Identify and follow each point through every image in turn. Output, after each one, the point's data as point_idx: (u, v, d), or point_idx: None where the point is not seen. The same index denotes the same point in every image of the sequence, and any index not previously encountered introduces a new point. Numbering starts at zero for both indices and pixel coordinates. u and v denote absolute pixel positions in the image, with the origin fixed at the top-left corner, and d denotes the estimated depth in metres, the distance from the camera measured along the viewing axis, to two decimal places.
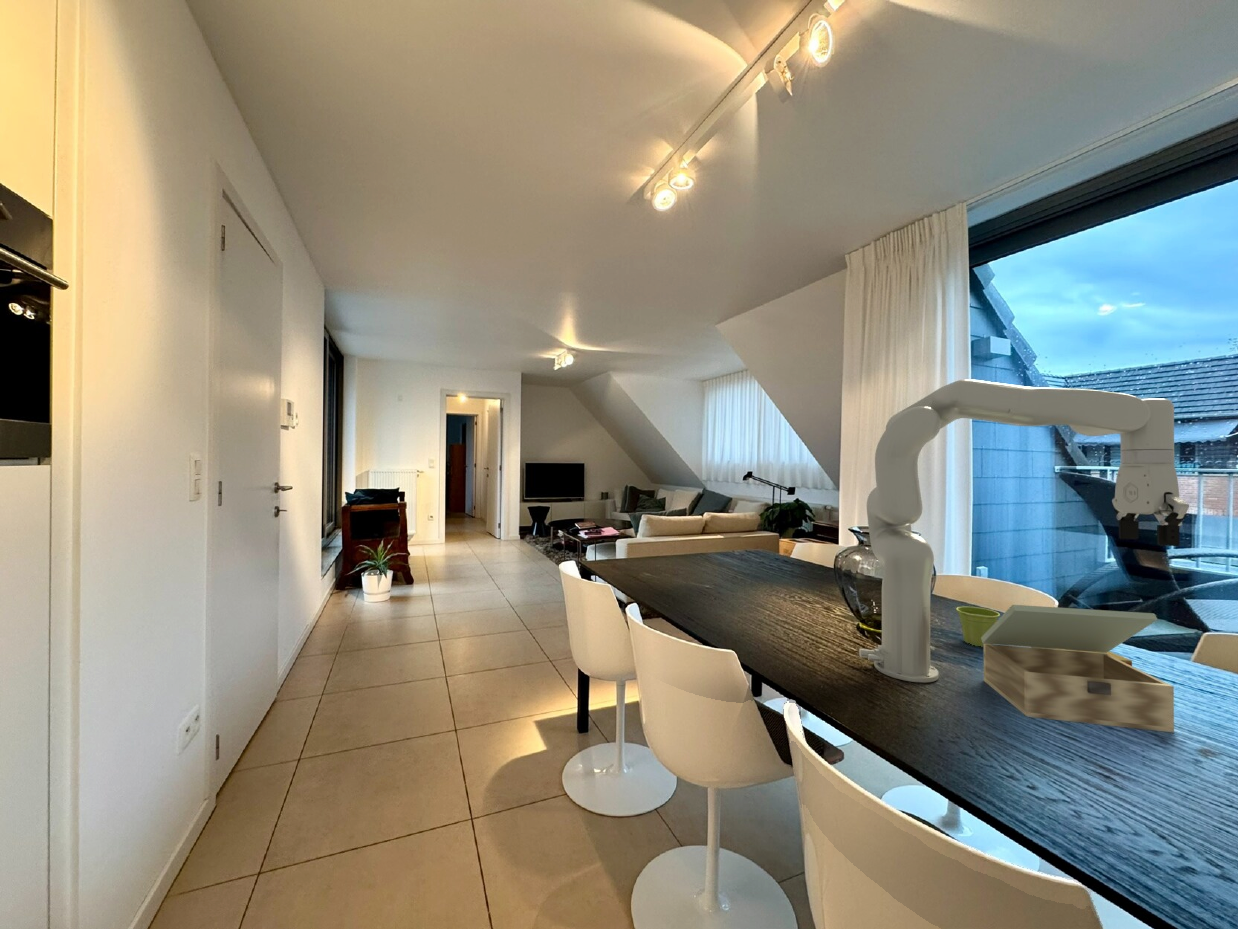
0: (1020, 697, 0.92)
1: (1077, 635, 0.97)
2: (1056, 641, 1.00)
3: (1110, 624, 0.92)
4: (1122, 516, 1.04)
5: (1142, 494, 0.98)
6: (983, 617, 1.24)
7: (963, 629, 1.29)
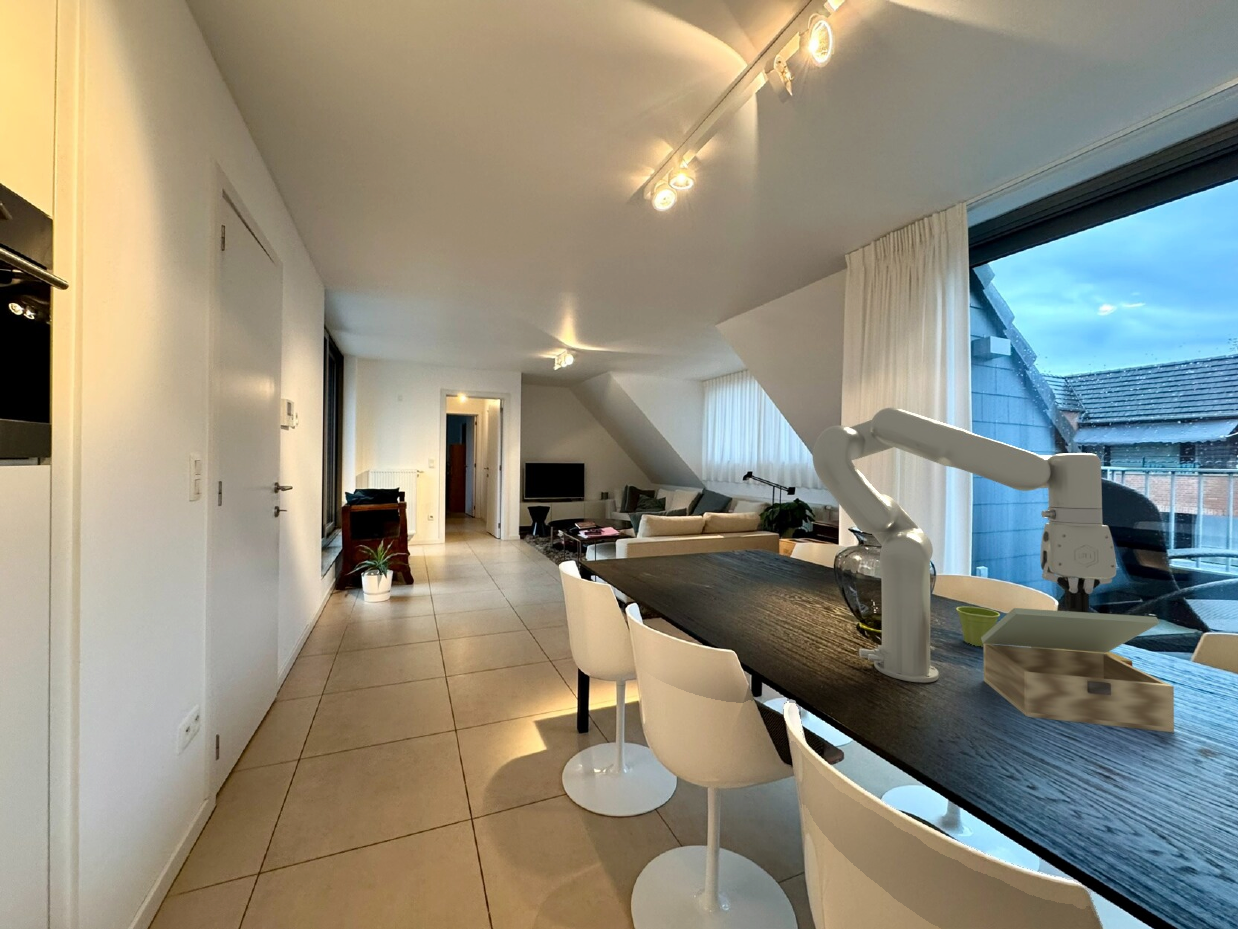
0: (1020, 697, 0.92)
1: (1078, 637, 0.96)
2: (1056, 642, 1.00)
3: (1111, 627, 0.91)
4: (1076, 585, 0.92)
5: (1104, 557, 0.90)
6: (983, 617, 1.24)
7: (963, 629, 1.29)
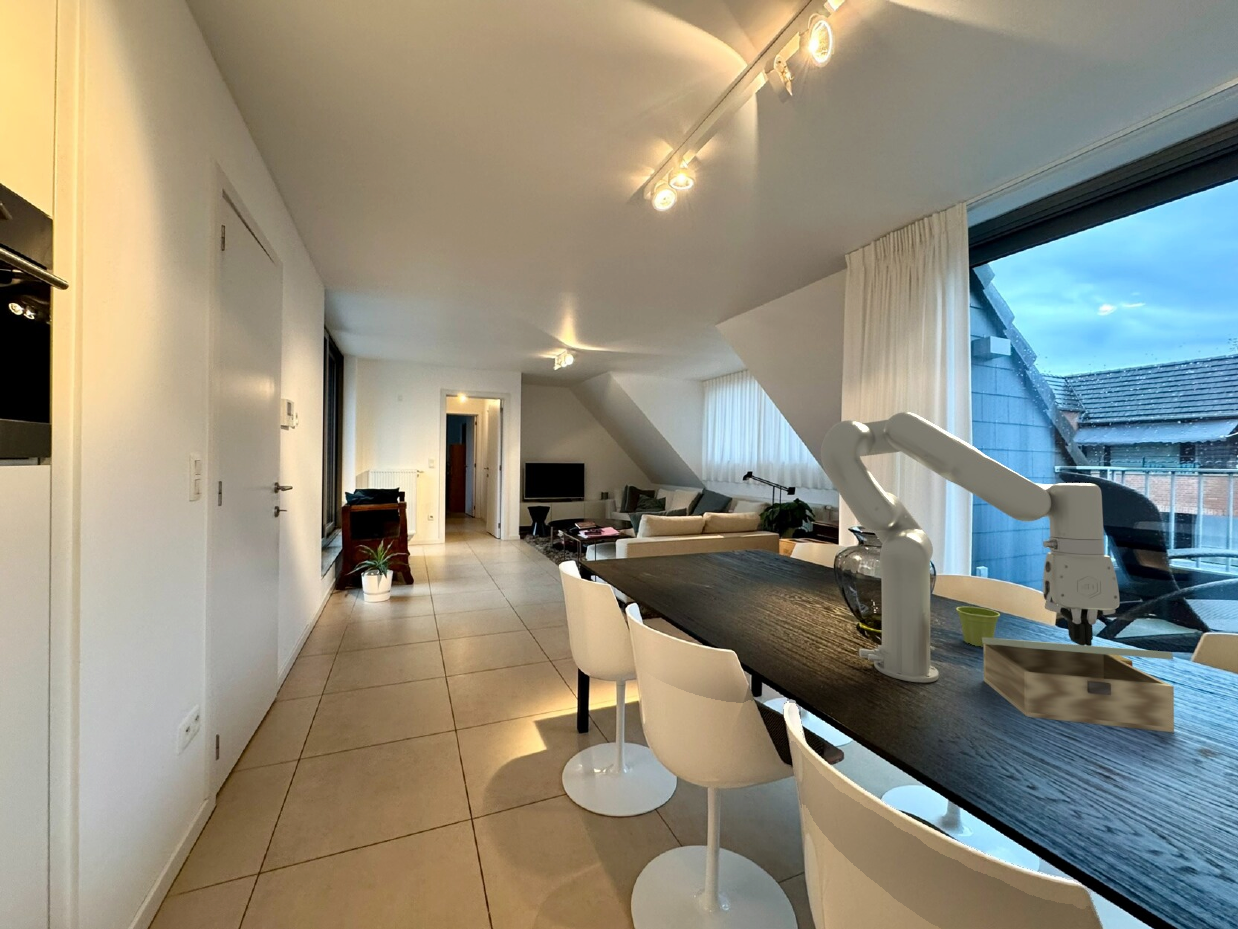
0: (1020, 697, 0.92)
1: None
2: None
3: None
4: (1079, 616, 0.92)
5: (1107, 588, 0.90)
6: (983, 617, 1.24)
7: (963, 629, 1.29)
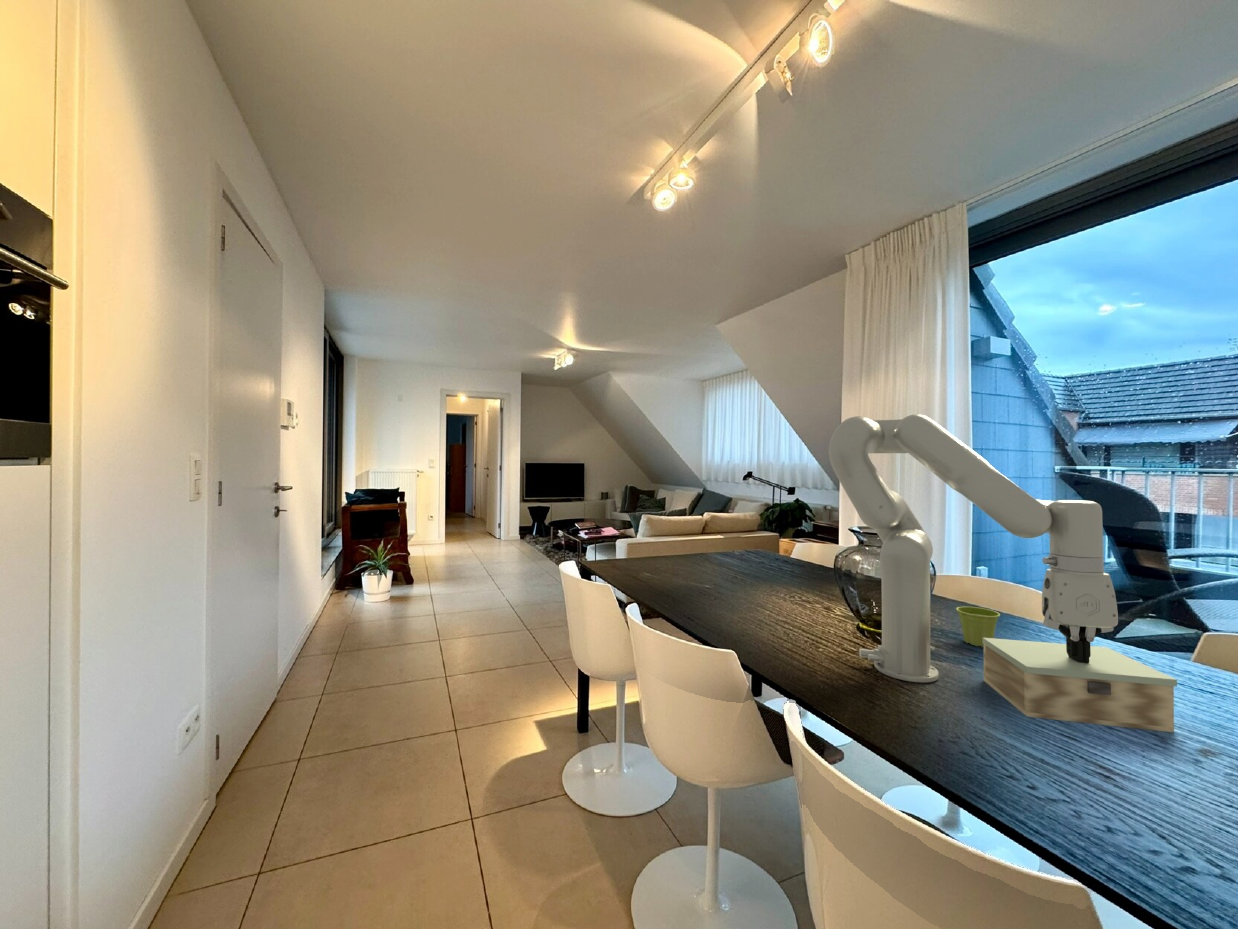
0: (1020, 697, 0.92)
1: None
2: None
3: None
4: (1077, 633, 0.92)
5: (1105, 606, 0.90)
6: (983, 617, 1.24)
7: (963, 629, 1.29)
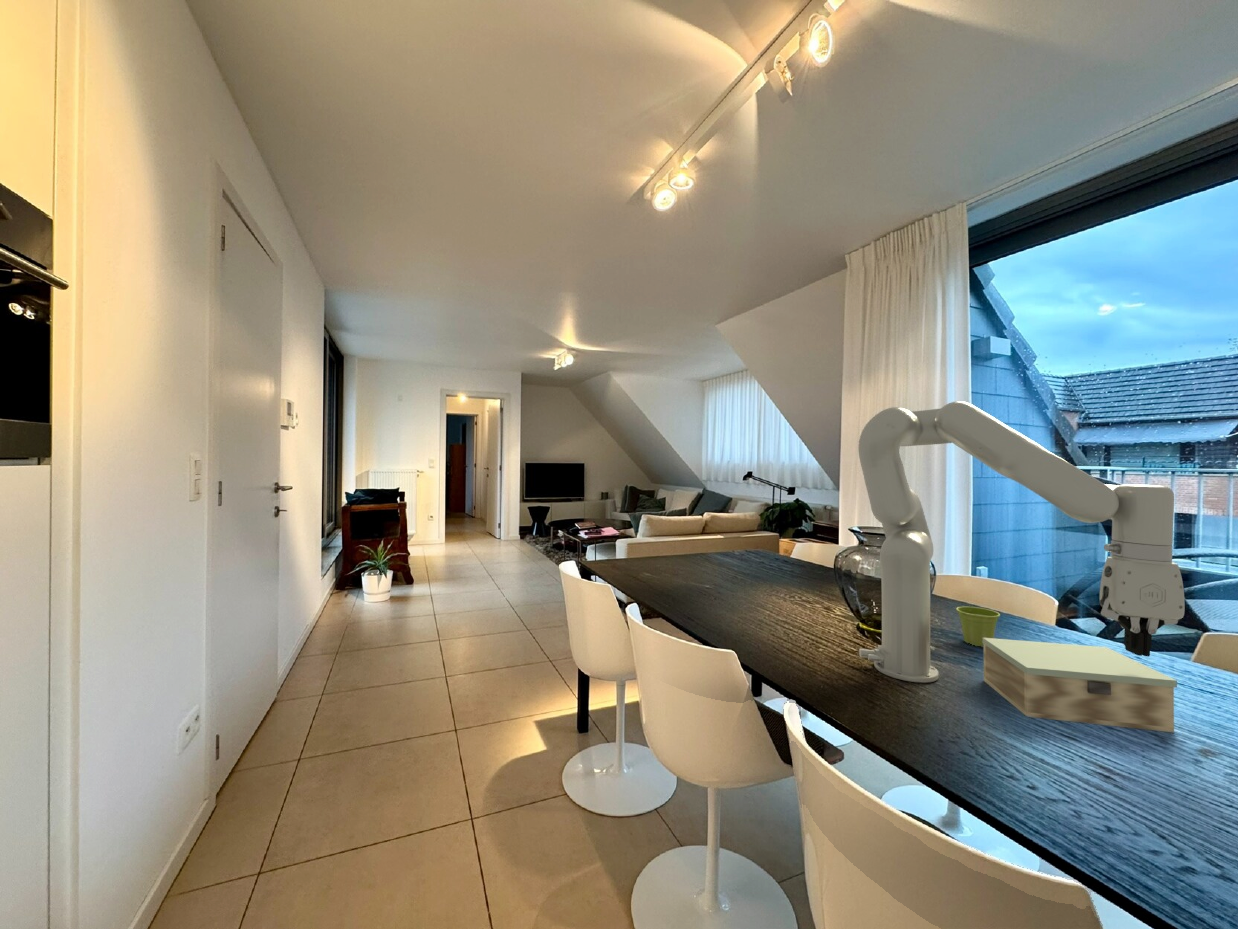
0: (1020, 697, 0.92)
1: None
2: None
3: None
4: (1138, 624, 0.87)
5: (1172, 597, 0.84)
6: (983, 617, 1.24)
7: (963, 629, 1.29)
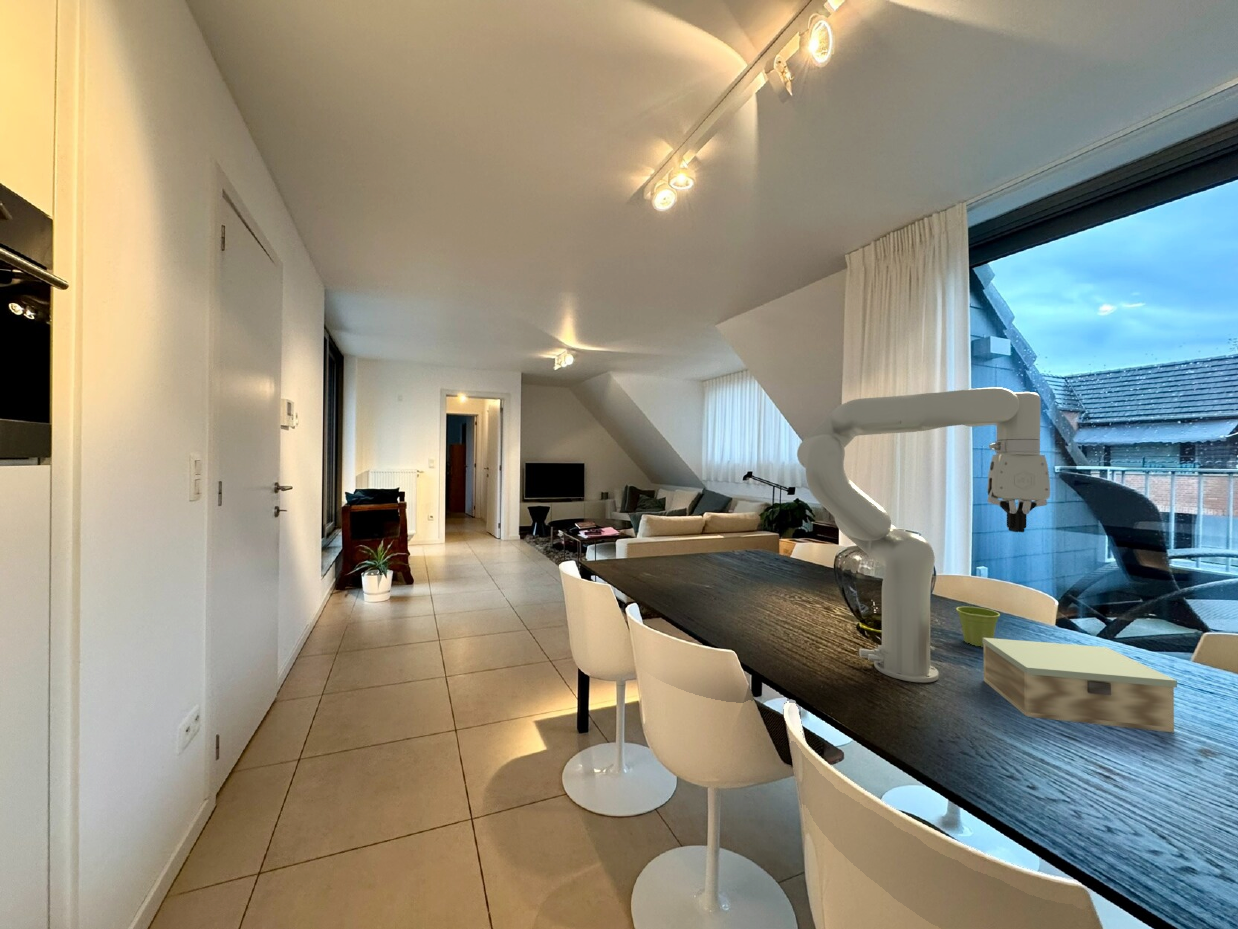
0: (1020, 697, 0.92)
1: None
2: None
3: None
4: (1015, 507, 1.06)
5: (1039, 481, 1.04)
6: (983, 617, 1.24)
7: (963, 629, 1.29)
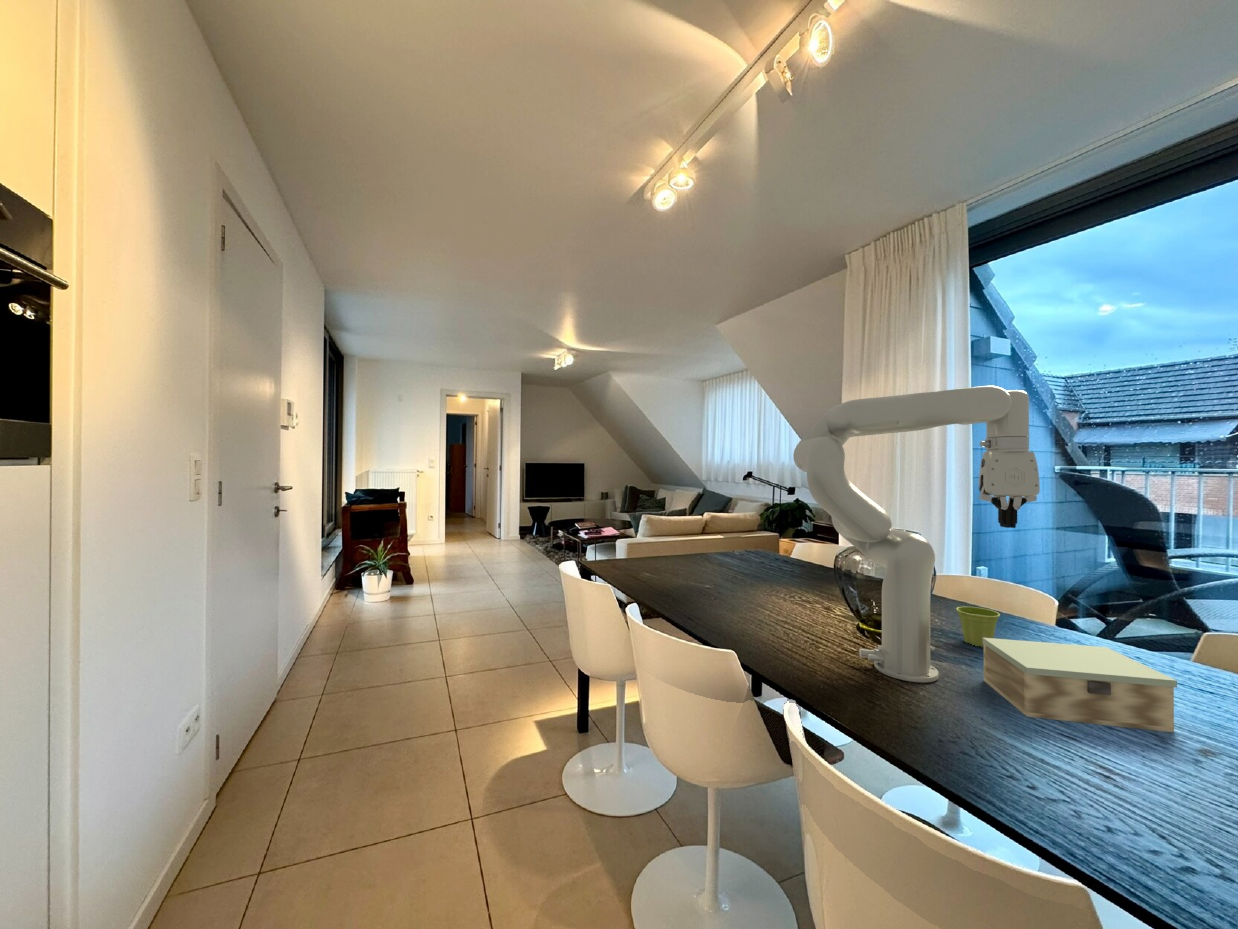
0: (1020, 697, 0.92)
1: None
2: None
3: None
4: (1006, 503, 1.08)
5: (1029, 478, 1.06)
6: (983, 617, 1.24)
7: (963, 629, 1.29)
